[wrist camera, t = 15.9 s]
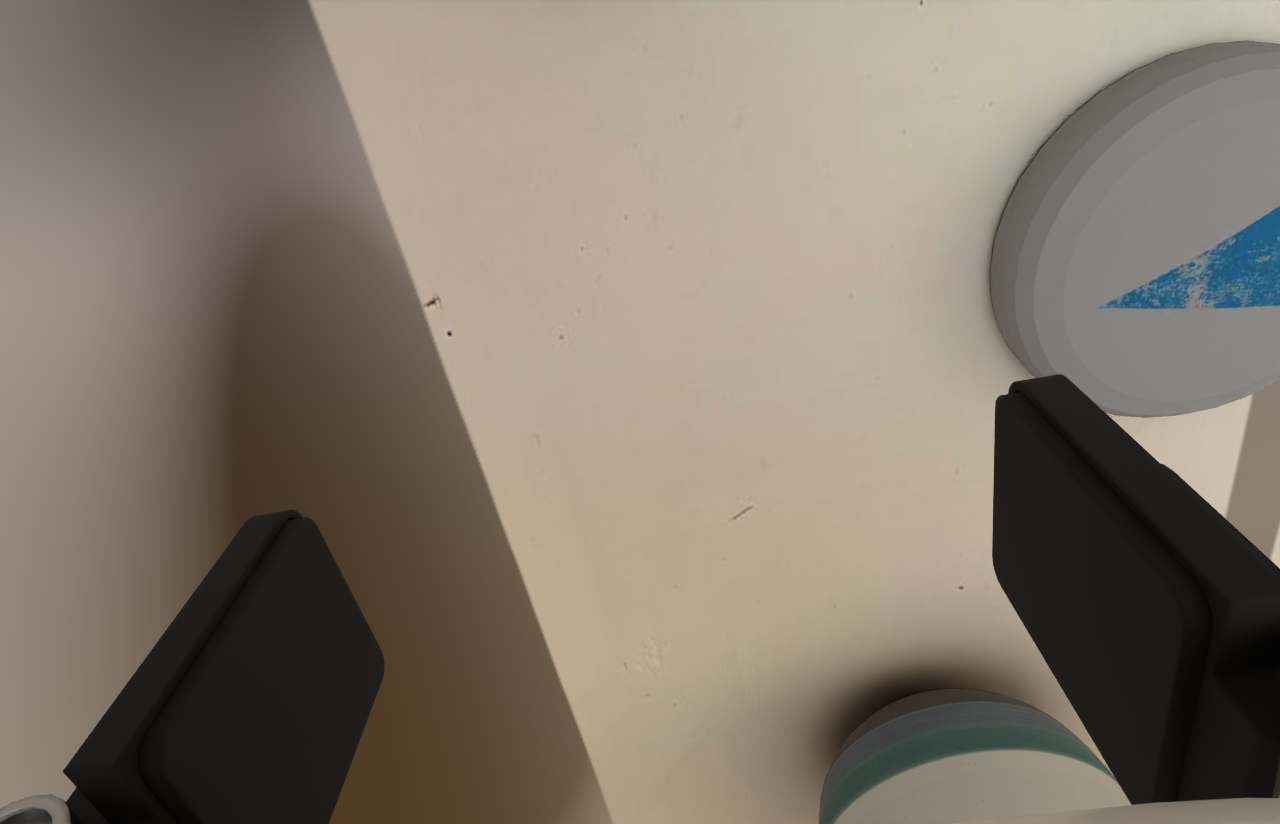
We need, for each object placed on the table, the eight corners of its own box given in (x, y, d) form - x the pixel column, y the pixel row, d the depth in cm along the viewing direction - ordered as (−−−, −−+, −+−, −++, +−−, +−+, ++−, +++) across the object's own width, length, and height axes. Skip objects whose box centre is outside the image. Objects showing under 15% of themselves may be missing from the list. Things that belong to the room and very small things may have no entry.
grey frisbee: (964, 125, 37) (1008, 145, 32) (1391, -26, 34) (1504, -27, 29) (1009, 437, 45) (1049, 486, 41) (1354, 340, 42) (1436, 381, 38)
